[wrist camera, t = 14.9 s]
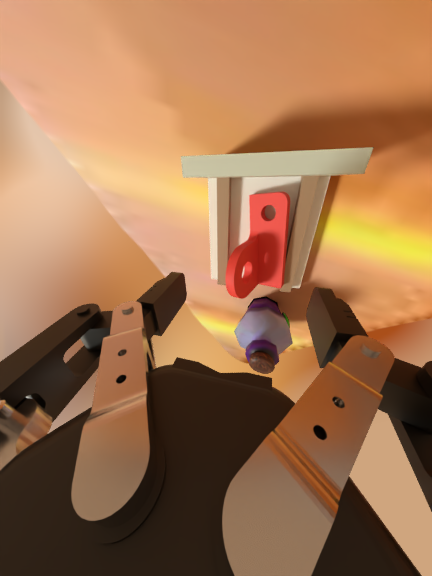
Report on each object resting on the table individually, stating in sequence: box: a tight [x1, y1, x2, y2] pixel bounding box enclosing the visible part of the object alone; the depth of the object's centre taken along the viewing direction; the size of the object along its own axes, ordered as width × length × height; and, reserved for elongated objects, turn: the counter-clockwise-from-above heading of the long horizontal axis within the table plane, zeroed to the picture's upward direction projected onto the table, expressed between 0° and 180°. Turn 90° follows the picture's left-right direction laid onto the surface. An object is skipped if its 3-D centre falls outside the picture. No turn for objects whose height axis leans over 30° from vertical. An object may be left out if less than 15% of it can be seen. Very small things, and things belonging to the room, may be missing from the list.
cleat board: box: [181, 147, 374, 292], centre depth 21 cm, size 14×16×10 cm
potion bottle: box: [234, 297, 292, 374], centre depth 27 cm, size 9×9×12 cm
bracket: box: [225, 191, 290, 299], centre depth 21 cm, size 12×4×8 cm, turn 7°
